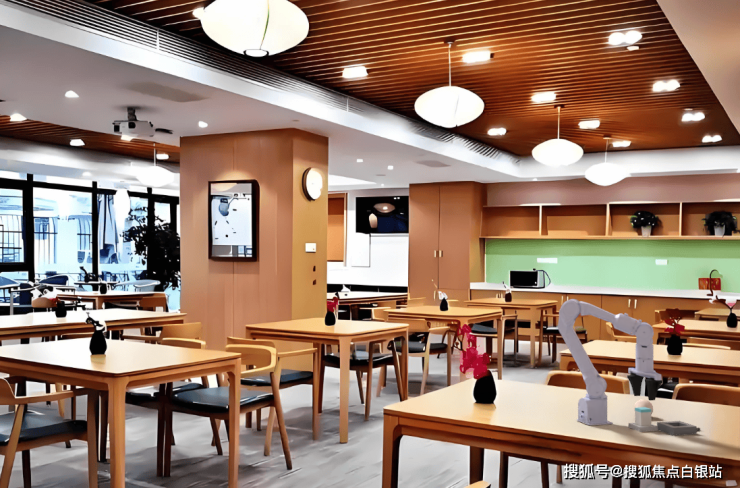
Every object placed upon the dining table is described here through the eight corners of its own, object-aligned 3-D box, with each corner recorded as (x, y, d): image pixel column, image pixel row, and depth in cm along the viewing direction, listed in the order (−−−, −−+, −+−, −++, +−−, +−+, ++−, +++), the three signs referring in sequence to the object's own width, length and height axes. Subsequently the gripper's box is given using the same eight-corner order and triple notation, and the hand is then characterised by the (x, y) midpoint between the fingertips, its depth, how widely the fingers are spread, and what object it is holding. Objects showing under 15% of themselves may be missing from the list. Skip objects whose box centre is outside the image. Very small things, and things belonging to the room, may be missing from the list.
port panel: (673, 435, 224) (673, 427, 224) (657, 429, 231) (657, 422, 231) (708, 433, 227) (708, 425, 227) (691, 427, 235) (691, 420, 235)
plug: (641, 430, 230) (641, 409, 230) (634, 428, 233) (635, 407, 233) (651, 429, 231) (651, 409, 231) (645, 427, 234) (645, 407, 234)
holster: (640, 431, 228) (640, 427, 228) (628, 427, 234) (628, 422, 234) (658, 430, 230) (658, 426, 230) (645, 426, 236) (645, 421, 236)
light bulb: (645, 408, 242) (652, 395, 251) (627, 409, 246) (634, 396, 255) (650, 426, 243) (657, 412, 252) (632, 426, 247) (639, 413, 256)
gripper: (668, 360, 230) (668, 401, 229) (640, 355, 244) (640, 393, 243) (651, 361, 228) (651, 402, 227) (623, 355, 242) (623, 394, 241)
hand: (644, 398), depth 235 cm, fingers open, 7 cm apart
